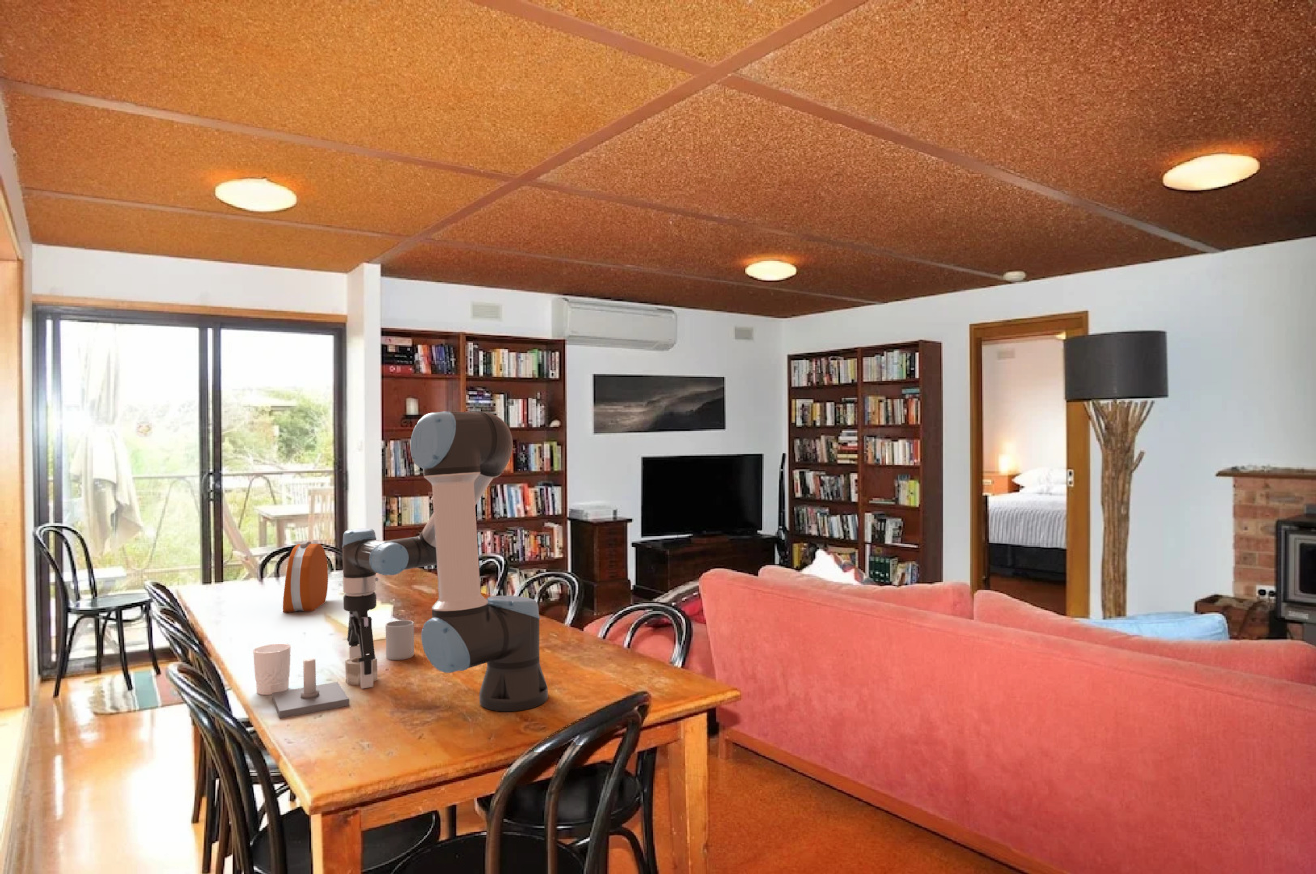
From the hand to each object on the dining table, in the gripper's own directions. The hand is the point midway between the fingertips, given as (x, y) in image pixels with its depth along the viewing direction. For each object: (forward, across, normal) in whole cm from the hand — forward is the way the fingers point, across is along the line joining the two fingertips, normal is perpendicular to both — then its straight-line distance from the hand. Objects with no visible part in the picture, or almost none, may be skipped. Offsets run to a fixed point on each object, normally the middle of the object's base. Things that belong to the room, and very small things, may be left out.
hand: (361, 679), depth 194 cm
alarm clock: (+1, +96, 0) cm, 96 cm away
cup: (0, +17, -13) cm, 21 cm away
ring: (0, 0, 0) cm, 0 cm away
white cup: (0, +4, +19) cm, 19 cm away
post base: (0, -10, +13) cm, 16 cm away
